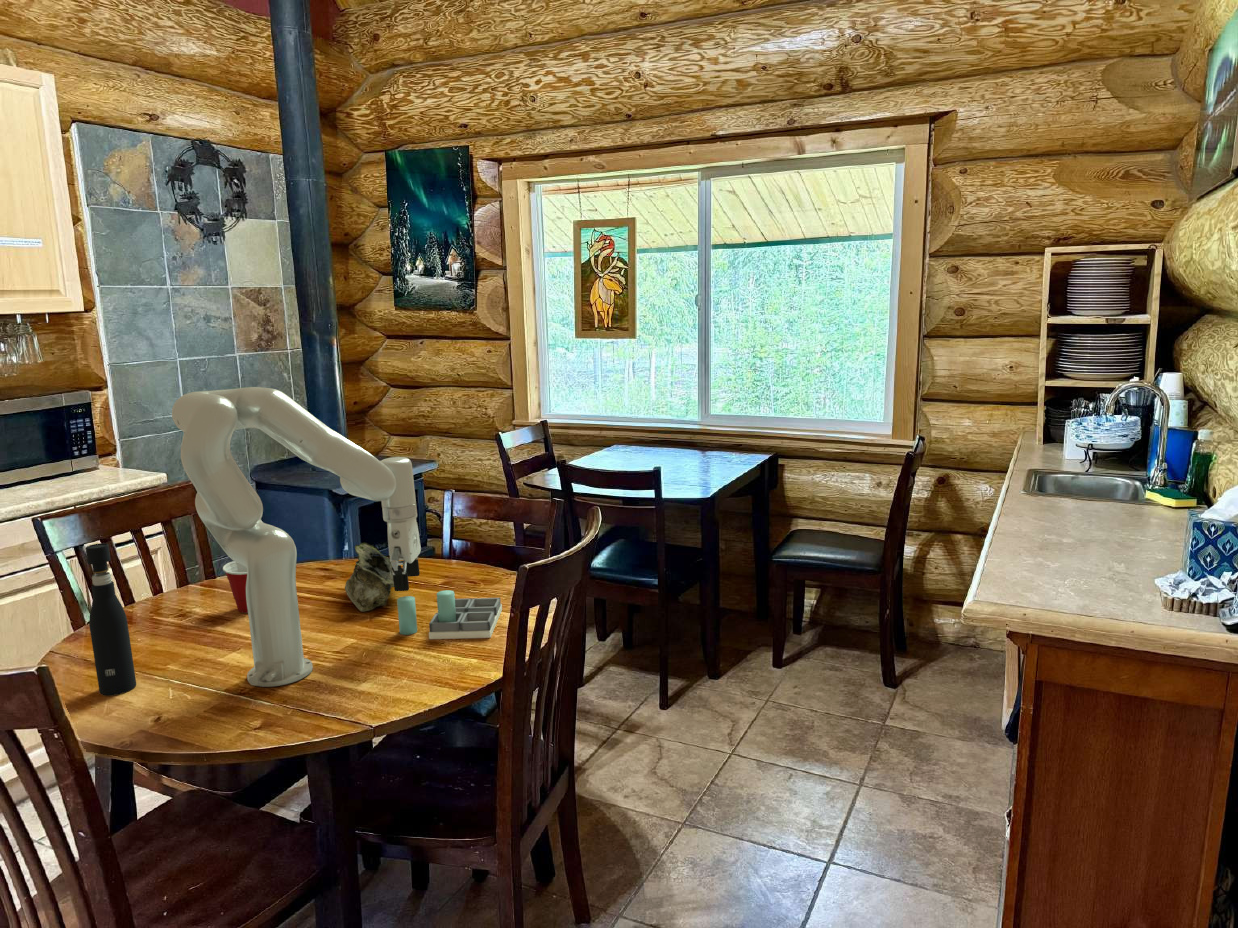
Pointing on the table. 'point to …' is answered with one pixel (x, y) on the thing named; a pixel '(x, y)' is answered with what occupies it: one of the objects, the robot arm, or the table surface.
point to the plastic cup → (237, 583)
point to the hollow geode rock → (370, 579)
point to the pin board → (464, 617)
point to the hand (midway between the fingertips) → (407, 583)
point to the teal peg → (407, 615)
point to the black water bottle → (109, 628)
